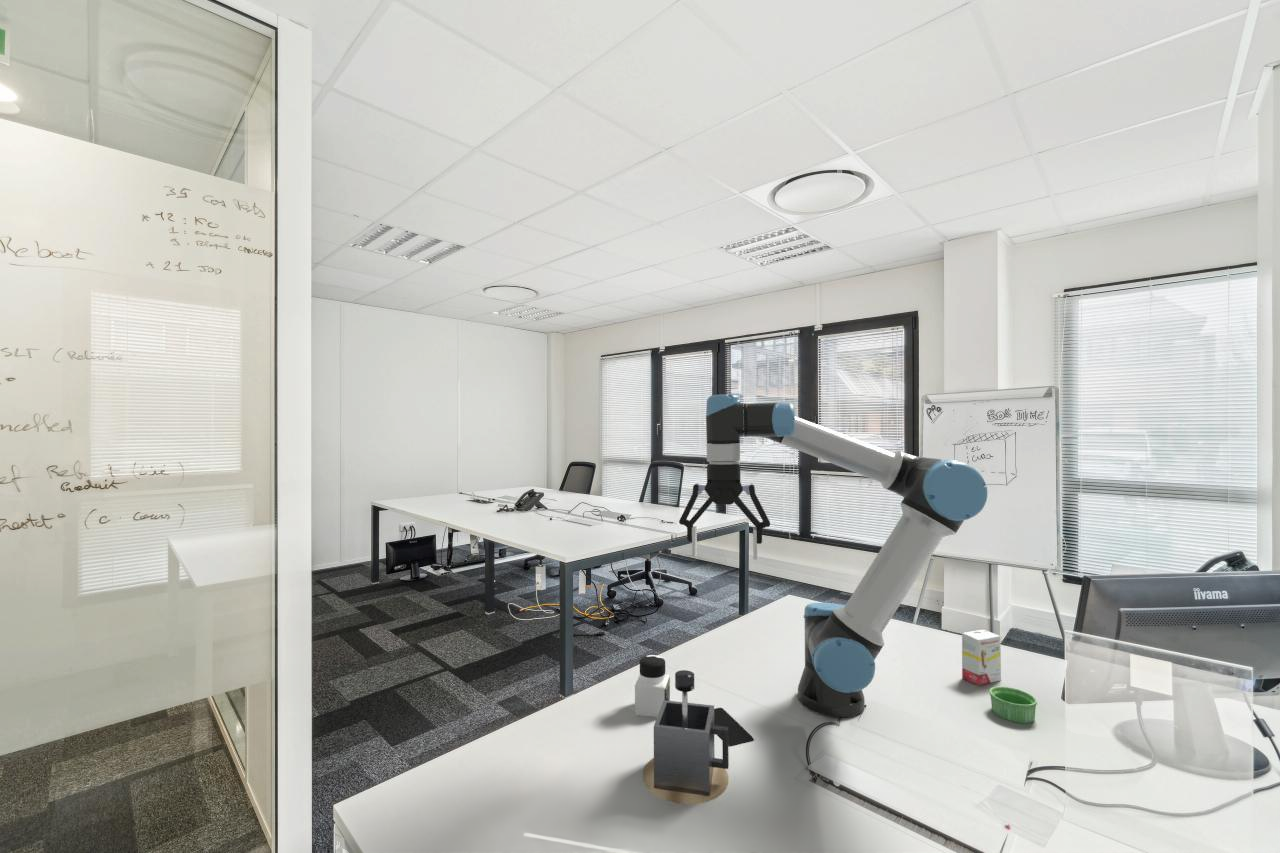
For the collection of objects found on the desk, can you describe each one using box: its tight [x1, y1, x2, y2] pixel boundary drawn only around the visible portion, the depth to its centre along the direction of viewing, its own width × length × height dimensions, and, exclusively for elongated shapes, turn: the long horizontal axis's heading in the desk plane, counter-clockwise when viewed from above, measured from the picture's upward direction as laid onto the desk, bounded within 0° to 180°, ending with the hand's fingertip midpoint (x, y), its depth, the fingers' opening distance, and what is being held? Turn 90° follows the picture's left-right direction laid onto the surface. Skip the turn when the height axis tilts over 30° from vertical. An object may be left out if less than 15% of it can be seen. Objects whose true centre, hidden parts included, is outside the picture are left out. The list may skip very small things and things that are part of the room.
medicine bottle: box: [634, 654, 671, 718], centre depth 125 cm, size 7×7×12 cm
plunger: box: [674, 669, 695, 728], centre depth 100 cm, size 7×7×17 cm
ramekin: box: [988, 686, 1038, 724], centre depth 123 cm, size 9×9×4 cm
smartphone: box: [714, 707, 755, 748], centre depth 117 cm, size 7×1×15 cm
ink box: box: [961, 629, 1002, 687], centre depth 140 cm, size 9×5×12 cm, turn 110°
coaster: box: [642, 757, 730, 805], centre depth 100 cm, size 16×16×1 cm
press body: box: [653, 700, 730, 796], centre depth 100 cm, size 13×10×11 cm
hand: (724, 557), depth 121 cm, fingers open, 13 cm apart
